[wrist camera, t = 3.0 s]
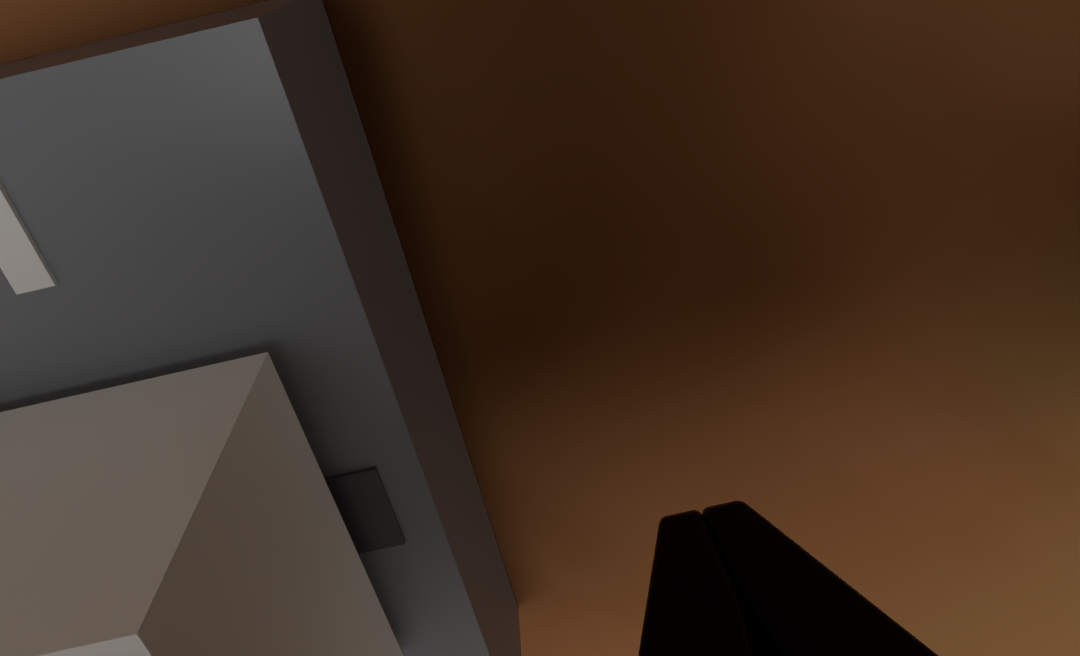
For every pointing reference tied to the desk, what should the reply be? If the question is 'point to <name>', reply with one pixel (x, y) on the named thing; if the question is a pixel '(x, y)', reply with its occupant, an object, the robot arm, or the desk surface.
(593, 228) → the desk surface
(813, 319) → the desk surface
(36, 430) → the fader knob
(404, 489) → the fader console
